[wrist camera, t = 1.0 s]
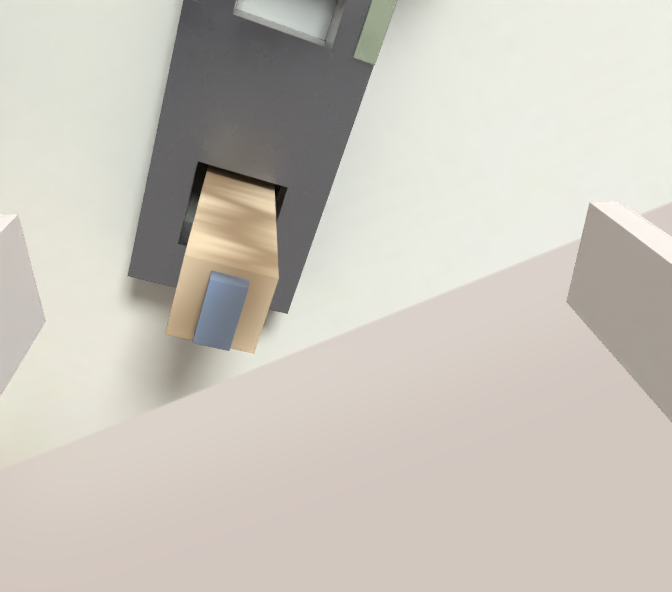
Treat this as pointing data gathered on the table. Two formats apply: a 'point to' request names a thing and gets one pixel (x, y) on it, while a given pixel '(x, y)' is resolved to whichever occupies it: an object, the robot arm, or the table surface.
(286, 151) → the panel
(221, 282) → the plug
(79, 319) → the table surface
